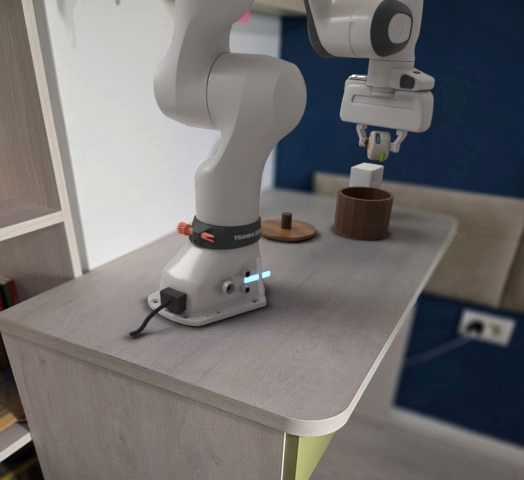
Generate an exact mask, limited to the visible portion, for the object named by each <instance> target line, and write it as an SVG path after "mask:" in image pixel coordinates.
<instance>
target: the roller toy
mask: <svg viewBox="0 0 524 480" xmlns="http://www.w3.org/2000/svg"><path fill="white" fill-rule="evenodd" d="M368 136H369V137H368V138H369V141H368V147H367V149H366V150H367V158H368V160H372V161H379V162H380V163H382V162H384V161H386V160H387V159H388V157H389V154H390V151H389V149H390V143H392V142H391V139H392V138H391V133H390V132H389V131H385V130H384V131H383V130H372V131H371V132H370V133H369V135H368Z"/></svg>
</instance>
